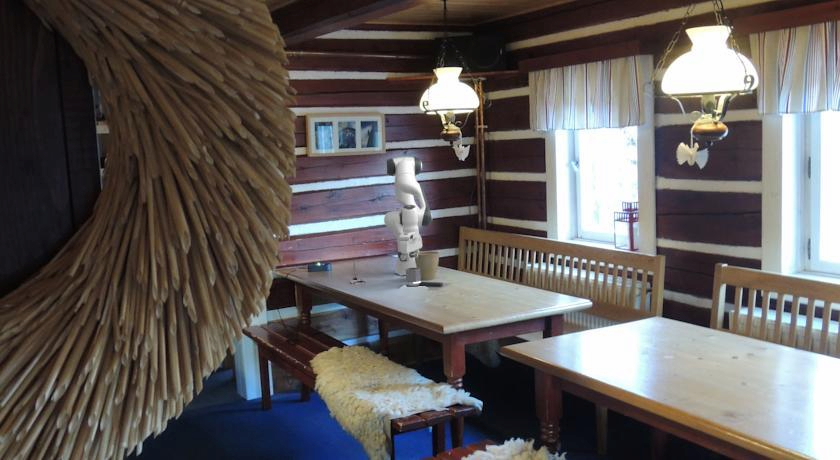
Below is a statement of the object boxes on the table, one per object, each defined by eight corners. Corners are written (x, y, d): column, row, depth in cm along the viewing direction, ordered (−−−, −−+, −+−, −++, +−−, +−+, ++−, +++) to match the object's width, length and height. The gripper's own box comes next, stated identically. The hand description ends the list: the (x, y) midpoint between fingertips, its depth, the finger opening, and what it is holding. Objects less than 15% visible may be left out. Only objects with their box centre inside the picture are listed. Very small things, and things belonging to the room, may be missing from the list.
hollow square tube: (411, 279, 443) (410, 267, 442) (420, 280, 441) (420, 267, 440) (406, 281, 438) (405, 269, 437) (415, 282, 435) (415, 269, 434)
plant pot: (440, 281, 450) (439, 254, 448) (414, 282, 450) (413, 255, 449) (440, 276, 465) (439, 250, 463) (415, 278, 465) (414, 251, 463)
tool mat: (411, 282, 452) (410, 281, 451) (452, 284, 440) (452, 283, 440) (394, 289, 434) (394, 288, 434) (437, 291, 422) (437, 290, 422)
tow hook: (367, 283, 458) (361, 280, 467) (366, 262, 456) (360, 259, 464) (354, 285, 455) (348, 282, 463) (353, 264, 453) (346, 261, 461)
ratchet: (403, 286, 438) (402, 276, 437) (410, 283, 445) (409, 273, 445) (438, 288, 428) (437, 277, 427) (444, 285, 436) (444, 274, 435)
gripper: (414, 231, 447) (415, 255, 449) (397, 237, 429) (398, 262, 431) (424, 231, 444) (425, 255, 446) (407, 237, 426) (409, 262, 428)
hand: (412, 259), depth 438 cm, fingers open, 8 cm apart
